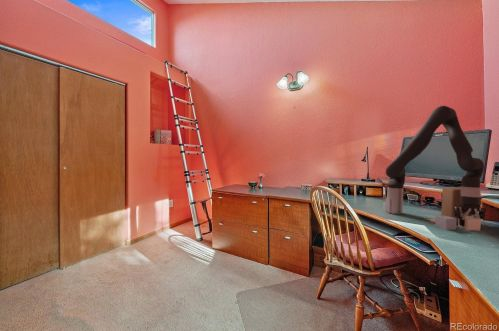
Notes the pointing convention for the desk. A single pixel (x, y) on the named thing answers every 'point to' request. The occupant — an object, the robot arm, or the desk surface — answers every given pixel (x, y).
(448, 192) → the wooden block
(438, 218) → the mauve cube
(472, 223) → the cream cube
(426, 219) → the tile
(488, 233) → the desk surface
